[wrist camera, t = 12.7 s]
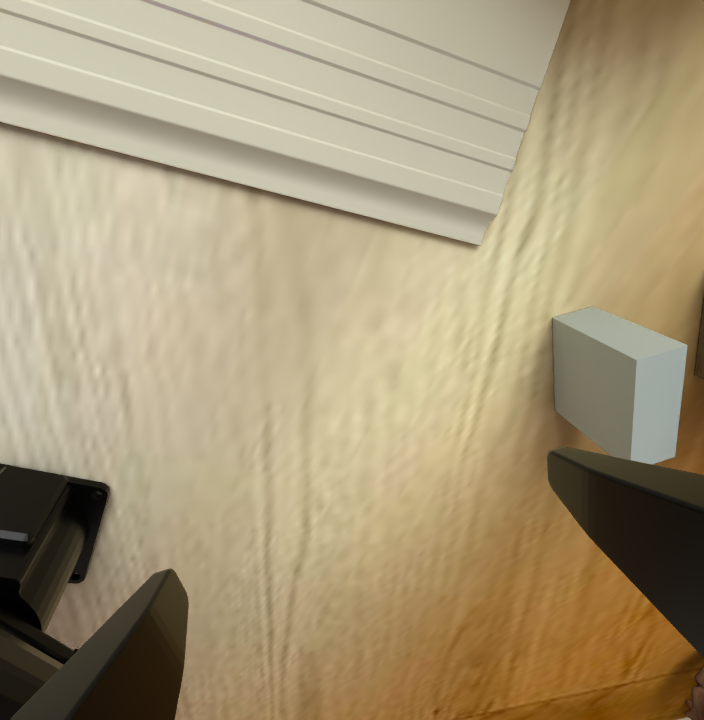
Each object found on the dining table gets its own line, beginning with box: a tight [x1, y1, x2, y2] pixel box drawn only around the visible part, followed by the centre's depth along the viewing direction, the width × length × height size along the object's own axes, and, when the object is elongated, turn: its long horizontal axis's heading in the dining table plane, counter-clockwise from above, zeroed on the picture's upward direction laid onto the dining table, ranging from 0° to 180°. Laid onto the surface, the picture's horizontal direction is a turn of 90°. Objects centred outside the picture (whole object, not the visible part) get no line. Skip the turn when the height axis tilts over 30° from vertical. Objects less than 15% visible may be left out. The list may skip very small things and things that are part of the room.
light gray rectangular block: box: [553, 306, 688, 464], centre depth 23 cm, size 2×6×6 cm, turn 12°
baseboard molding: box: [0, 0, 571, 246], centre depth 16 cm, size 31×3×12 cm
